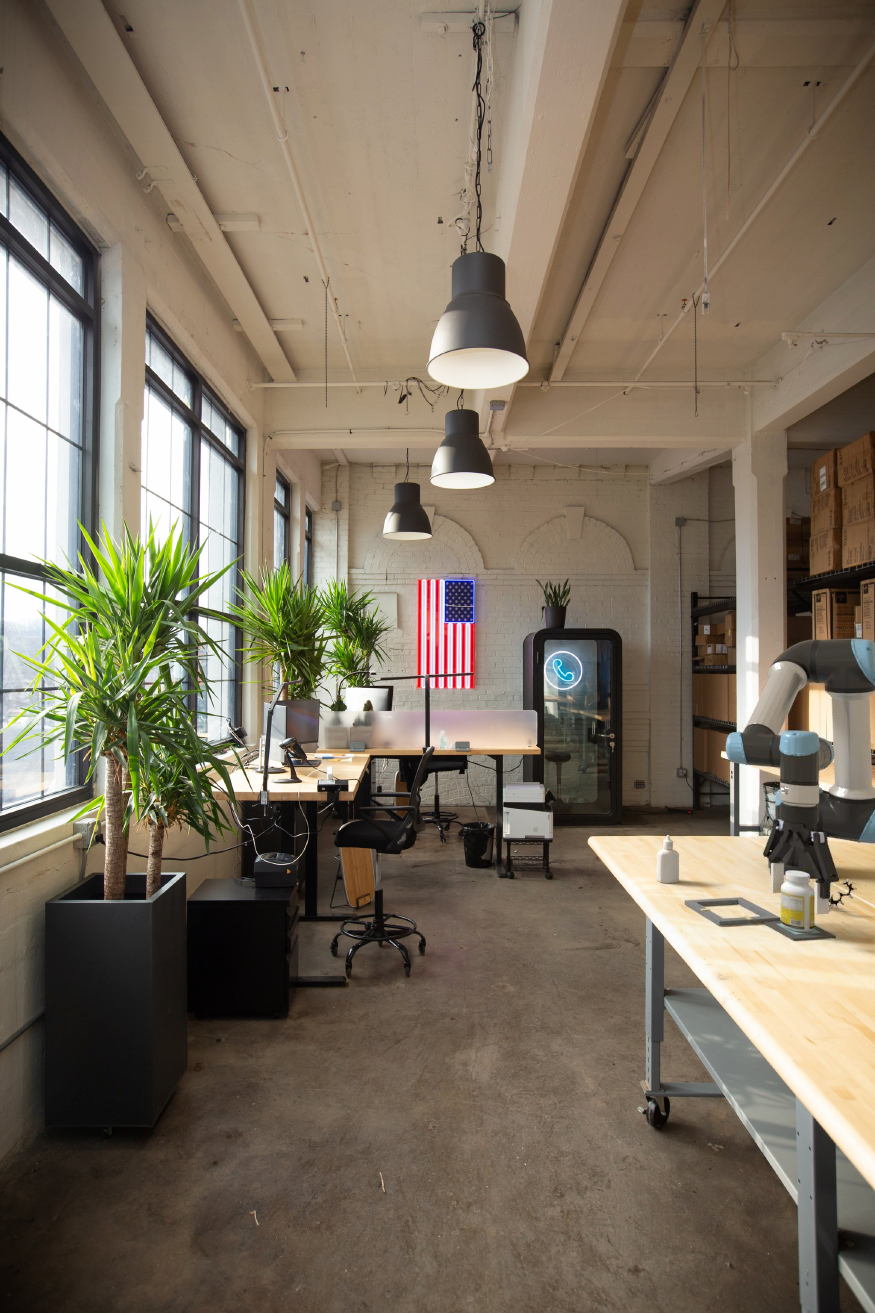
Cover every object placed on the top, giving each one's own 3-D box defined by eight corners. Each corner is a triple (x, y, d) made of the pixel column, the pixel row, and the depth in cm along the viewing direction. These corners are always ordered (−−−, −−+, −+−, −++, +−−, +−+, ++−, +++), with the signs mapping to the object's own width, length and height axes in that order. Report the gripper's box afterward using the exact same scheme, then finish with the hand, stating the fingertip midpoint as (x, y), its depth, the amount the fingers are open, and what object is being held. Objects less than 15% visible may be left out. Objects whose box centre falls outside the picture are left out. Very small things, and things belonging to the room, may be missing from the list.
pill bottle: (809, 924, 154) (810, 870, 154) (818, 935, 148) (818, 879, 148) (777, 921, 156) (777, 868, 156) (784, 931, 149) (785, 876, 149)
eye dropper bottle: (656, 878, 188) (656, 833, 188) (678, 880, 187) (678, 834, 187) (656, 883, 184) (657, 836, 184) (679, 885, 182) (679, 838, 183)
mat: (802, 920, 157) (802, 918, 157) (836, 937, 147) (836, 935, 147) (762, 923, 155) (762, 921, 155) (793, 940, 146) (793, 938, 146)
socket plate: (741, 901, 170) (741, 896, 170) (781, 922, 156) (781, 917, 156) (684, 904, 167) (684, 899, 167) (720, 926, 153) (720, 921, 153)
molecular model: (801, 896, 175) (801, 862, 175) (861, 915, 162) (861, 879, 162) (784, 900, 172) (784, 866, 172) (844, 920, 159) (843, 883, 159)
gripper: (747, 793, 163) (746, 885, 163) (826, 815, 139) (825, 924, 139) (775, 792, 165) (775, 884, 164) (859, 814, 140) (858, 922, 140)
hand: (798, 902), depth 151 cm, fingers open, 13 cm apart
